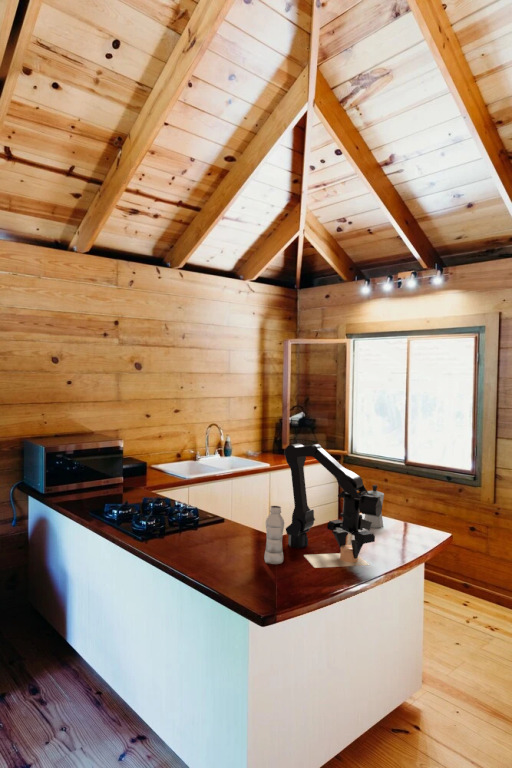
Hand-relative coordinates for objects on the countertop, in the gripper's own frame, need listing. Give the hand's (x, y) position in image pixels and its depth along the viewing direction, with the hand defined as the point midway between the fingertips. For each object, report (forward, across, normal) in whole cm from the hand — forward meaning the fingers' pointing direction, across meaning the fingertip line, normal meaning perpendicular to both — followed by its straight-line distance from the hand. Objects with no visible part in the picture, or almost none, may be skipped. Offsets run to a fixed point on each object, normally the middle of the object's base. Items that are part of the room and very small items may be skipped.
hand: (349, 555), depth 176 cm
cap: (+1, 0, 0) cm, 1 cm away
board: (+3, +2, +5) cm, 6 cm away
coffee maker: (+3, +30, -41) cm, 50 cm away
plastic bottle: (+3, +10, +25) cm, 27 cm away
